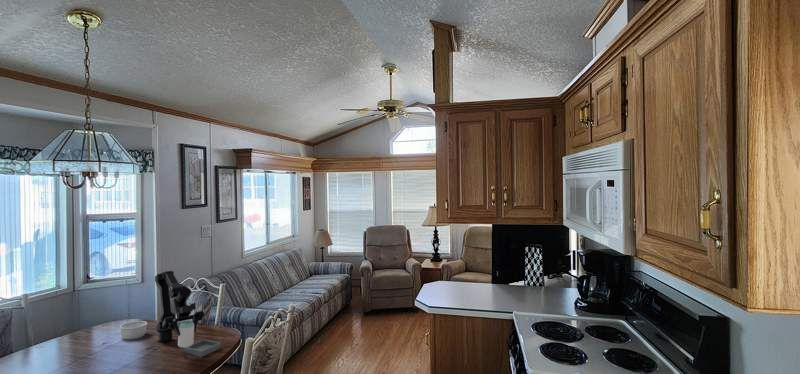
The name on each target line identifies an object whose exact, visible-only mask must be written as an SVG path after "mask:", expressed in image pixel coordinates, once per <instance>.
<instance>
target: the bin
mask: <svg viewBox="0 0 800 374" xmlns="http://www.w3.org/2000/svg"><path fill="white" fill-rule="evenodd" d="M221 344H222V342H218V341H214V340H210V339H209V340H208V339H202V340H199V341H196V342H194V343H193V345H191V346H190V347H186V348H183V354H187V355H190V356H194V357H199V358H203V357H205V356H207V355H209V354H211V353H214V352H215V351H219V350H220V349H221Z"/></svg>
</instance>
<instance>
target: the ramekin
mask: <svg viewBox="0 0 800 374" xmlns="http://www.w3.org/2000/svg"><path fill="white" fill-rule="evenodd" d="M147 326H148V322H147V321H144V320H135V321H129V322H125V323H122V324H121V325H120V327H119V330H120V336H121V339H123V340H135V339H139V338H142V337H143V336H145V334H146V333H147Z"/></svg>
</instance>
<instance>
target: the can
mask: <svg viewBox="0 0 800 374" xmlns="http://www.w3.org/2000/svg"><path fill="white" fill-rule="evenodd" d="M178 328H179V332H180V336H178V335H177V337H178V339H177V346H178V347H179V348H181V349H182V348H183V349H184V348H186V347H190V346H191V345H193V343H195V341H194V339H195V332H194V323H193V320H184V321H180V324H179V325H178Z"/></svg>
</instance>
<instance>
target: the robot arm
mask: <svg viewBox="0 0 800 374" xmlns="http://www.w3.org/2000/svg"><path fill="white" fill-rule="evenodd" d="M154 282H155V285H156V287H157V288H159V291H160V292H159V293H160V304H161V305H160V306H161V315H160V317H159V319H158V322H157V325H156V328H155V329H156V332H158V333H159V337H158V338H159V339H158V340H156V342H157V343H161V344H167V343H169V342H172V341H174V340H175V338H173V332H174V333H175V334H176V335H177V337H178V336H180V332H179V325H178V323H179V322H183V321H190V320H191V321H193V323H194V333H195V332H197V326H198V325H197V324H198V322H199V321H201V320H202V319H203V318H204V316H205V312H204V311H203V310H200V311H195V312H194V314H192V312H193V310H196V308H197V307H196V303H195V302H194V303H190V305H189V304H187V301H189V298H190V297H191V294H192V290H191V289H190V288H188V287H187V286H186V285H184V284H182V283H179V281H178V279H177V277H176V276H175V273H174V270H166V271H165V270H164V271H163V272H161V273H157V274H156V275H155V276H154ZM171 299H174V300H173V302H172V303H173V304H171ZM171 305H173V306H174V311H175V312H174V313H173V312H172V306H171Z"/></svg>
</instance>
